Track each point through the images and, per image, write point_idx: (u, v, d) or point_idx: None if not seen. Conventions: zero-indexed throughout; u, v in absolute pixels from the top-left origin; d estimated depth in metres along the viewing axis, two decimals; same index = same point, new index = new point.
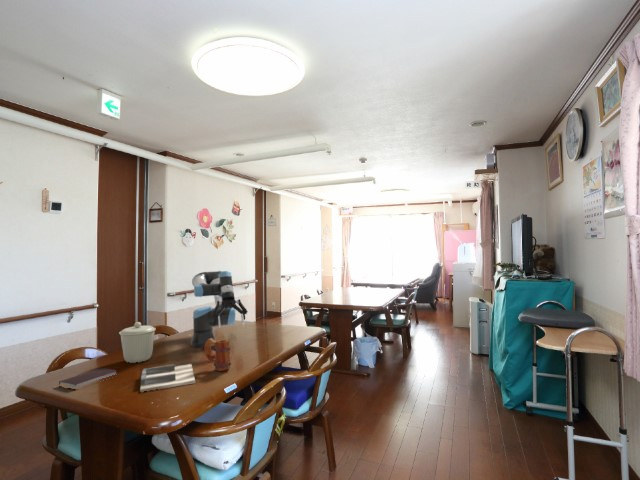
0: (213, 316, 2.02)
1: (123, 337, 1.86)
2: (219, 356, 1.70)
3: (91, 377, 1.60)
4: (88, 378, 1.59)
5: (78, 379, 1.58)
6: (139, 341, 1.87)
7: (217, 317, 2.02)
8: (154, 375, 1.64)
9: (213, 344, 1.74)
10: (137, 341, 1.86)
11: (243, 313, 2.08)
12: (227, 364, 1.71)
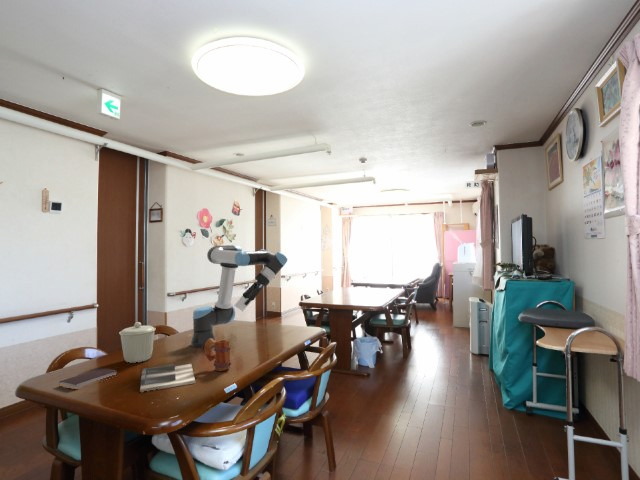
0: (251, 299, 1.73)
1: (123, 337, 1.86)
2: (219, 356, 1.70)
3: (91, 377, 1.60)
4: (88, 378, 1.59)
5: (78, 379, 1.58)
6: (139, 341, 1.87)
7: (249, 301, 1.75)
8: (154, 375, 1.64)
9: (213, 344, 1.74)
10: (137, 341, 1.86)
11: (245, 298, 1.89)
12: (227, 364, 1.71)
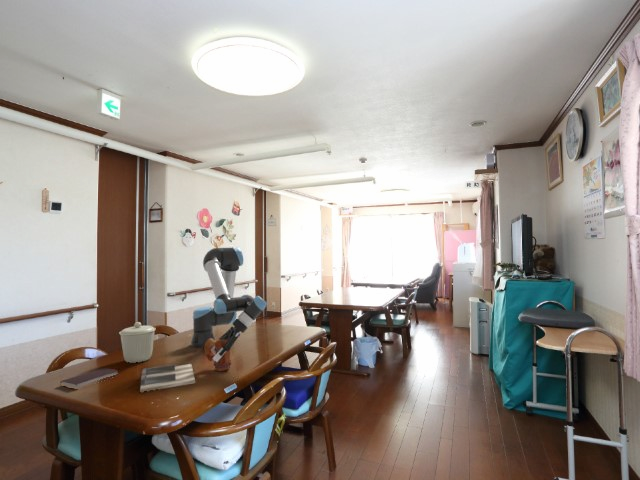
0: (226, 349, 1.67)
1: (123, 337, 1.86)
2: None
3: (92, 377, 1.60)
4: (89, 378, 1.59)
5: (79, 379, 1.58)
6: (139, 341, 1.87)
7: (224, 351, 1.68)
8: (154, 375, 1.64)
9: (213, 344, 1.74)
10: (137, 341, 1.86)
11: None
12: (227, 364, 1.71)
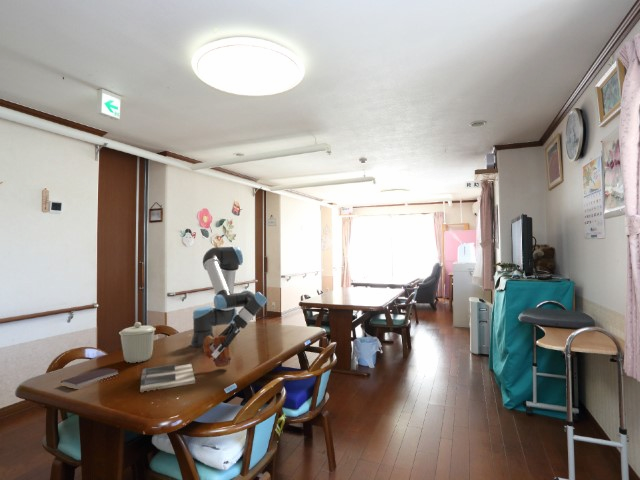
0: (224, 346, 1.67)
1: (123, 337, 1.86)
2: None
3: (93, 377, 1.60)
4: (89, 378, 1.59)
5: (80, 379, 1.58)
6: (139, 341, 1.87)
7: (223, 347, 1.69)
8: (154, 375, 1.64)
9: (212, 341, 1.74)
10: (137, 341, 1.86)
11: None
12: (227, 359, 1.71)
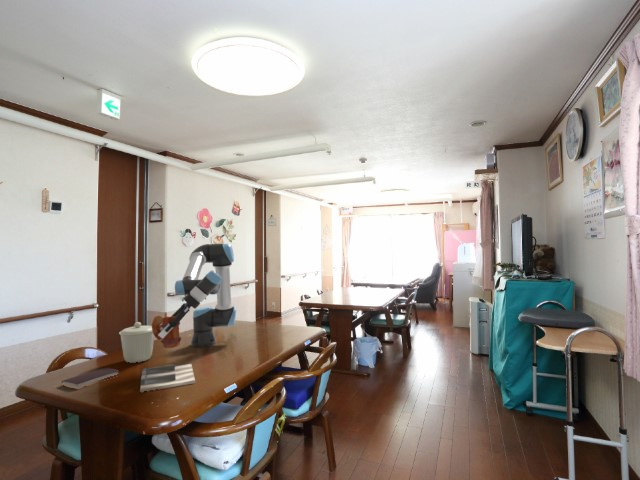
0: (172, 325, 1.57)
1: (123, 337, 1.86)
2: None
3: (93, 377, 1.61)
4: (90, 378, 1.59)
5: (80, 379, 1.58)
6: (139, 341, 1.87)
7: (171, 327, 1.59)
8: (154, 375, 1.64)
9: (161, 321, 1.64)
10: (137, 341, 1.86)
11: None
12: (176, 340, 1.61)
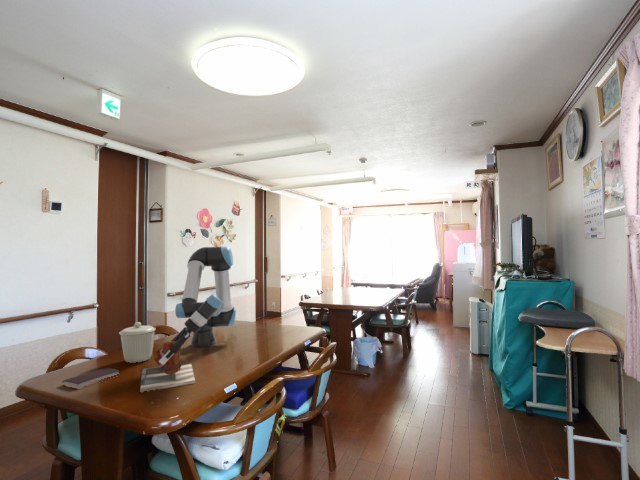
0: (173, 351, 1.57)
1: (123, 337, 1.86)
2: None
3: (94, 377, 1.61)
4: (90, 378, 1.59)
5: (81, 378, 1.58)
6: (139, 341, 1.87)
7: (172, 353, 1.59)
8: (154, 375, 1.64)
9: (161, 346, 1.64)
10: (137, 341, 1.86)
11: None
12: (176, 366, 1.61)
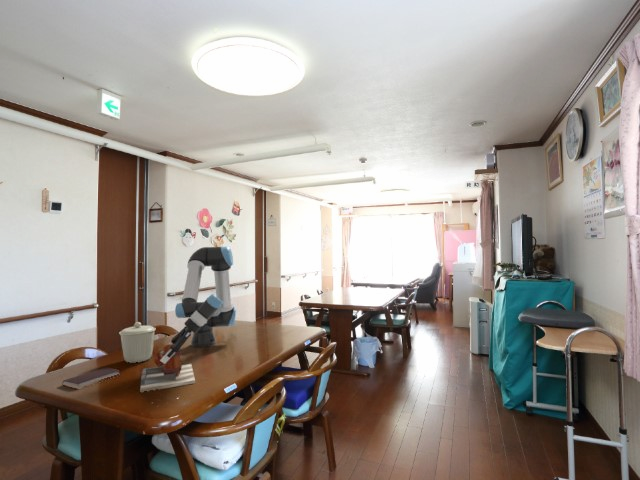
0: (174, 350, 1.56)
1: (123, 337, 1.86)
2: (168, 361, 1.60)
3: (94, 377, 1.61)
4: (90, 378, 1.59)
5: (81, 378, 1.59)
6: (139, 341, 1.87)
7: (173, 352, 1.58)
8: (154, 375, 1.64)
9: (162, 349, 1.63)
10: (137, 341, 1.86)
11: None
12: (177, 370, 1.61)
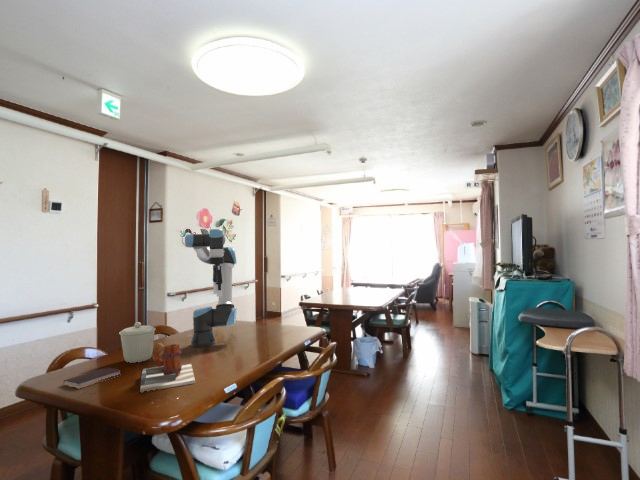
0: (219, 283, 1.85)
1: (123, 337, 1.86)
2: (168, 361, 1.60)
3: (95, 376, 1.61)
4: (91, 377, 1.60)
5: (82, 378, 1.59)
6: (139, 341, 1.87)
7: (220, 285, 1.87)
8: (154, 375, 1.64)
9: (162, 349, 1.63)
10: (137, 341, 1.86)
11: None
12: (177, 370, 1.61)
